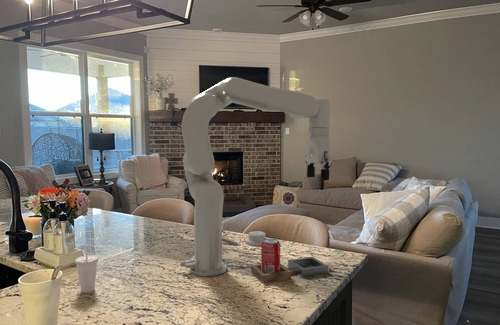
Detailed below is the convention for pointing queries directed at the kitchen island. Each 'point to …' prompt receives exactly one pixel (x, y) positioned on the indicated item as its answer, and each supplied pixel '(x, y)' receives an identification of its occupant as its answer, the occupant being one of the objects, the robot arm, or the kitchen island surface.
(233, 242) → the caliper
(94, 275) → the smoothie
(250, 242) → the mechanical component
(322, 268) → the socket
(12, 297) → the kitchen island surface
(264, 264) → the soda can
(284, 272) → the stand socket
